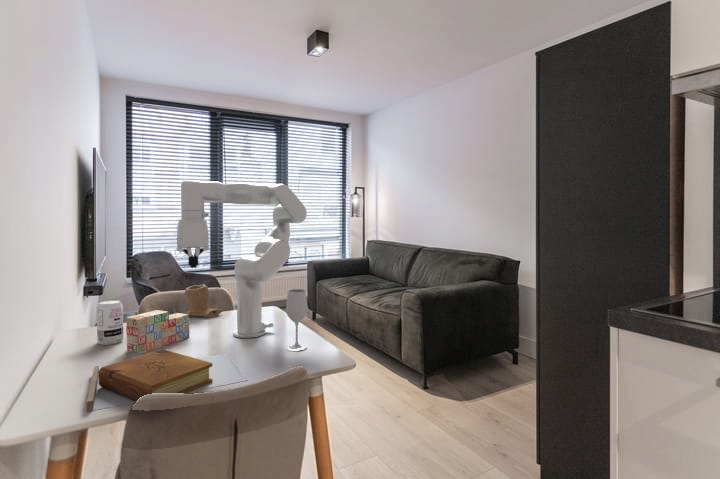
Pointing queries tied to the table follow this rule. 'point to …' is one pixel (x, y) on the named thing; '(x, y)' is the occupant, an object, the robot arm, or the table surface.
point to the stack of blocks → (155, 330)
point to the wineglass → (296, 309)
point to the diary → (155, 374)
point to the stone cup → (199, 301)
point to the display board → (220, 373)
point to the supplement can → (109, 322)
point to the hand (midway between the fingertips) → (193, 267)
